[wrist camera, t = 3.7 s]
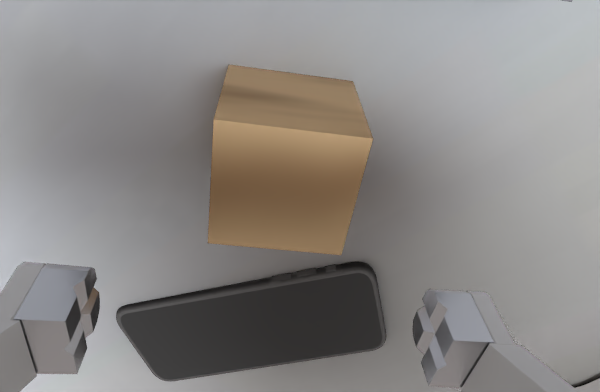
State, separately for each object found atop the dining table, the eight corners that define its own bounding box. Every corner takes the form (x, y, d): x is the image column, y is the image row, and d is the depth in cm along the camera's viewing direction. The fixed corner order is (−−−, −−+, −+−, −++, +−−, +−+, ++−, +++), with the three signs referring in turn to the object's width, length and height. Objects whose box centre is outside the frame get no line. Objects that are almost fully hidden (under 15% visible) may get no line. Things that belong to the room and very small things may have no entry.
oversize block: (329, 182, 21) (341, 255, 17) (221, 170, 21) (207, 243, 17) (352, 80, 18) (373, 138, 14) (228, 63, 18) (213, 119, 14)
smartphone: (106, 312, 25) (374, 265, 23) (111, 299, 26) (371, 252, 24) (159, 385, 29) (389, 350, 28) (162, 372, 30) (387, 337, 28)
